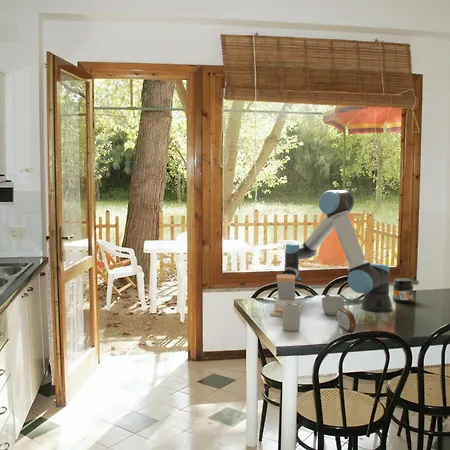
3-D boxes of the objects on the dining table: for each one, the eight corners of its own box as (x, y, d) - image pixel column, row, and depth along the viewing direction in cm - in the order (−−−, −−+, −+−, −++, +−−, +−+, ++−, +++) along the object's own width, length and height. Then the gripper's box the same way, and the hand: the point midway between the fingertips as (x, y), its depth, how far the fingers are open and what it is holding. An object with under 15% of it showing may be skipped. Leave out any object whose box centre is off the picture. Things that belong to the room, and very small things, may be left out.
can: (281, 327, 246) (281, 301, 245) (297, 327, 247) (298, 301, 246) (284, 332, 239) (284, 305, 238) (301, 332, 240) (301, 304, 239)
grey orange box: (278, 295, 276) (277, 274, 267) (295, 296, 274) (294, 274, 265) (277, 299, 273) (276, 277, 265) (295, 300, 272) (294, 278, 263)
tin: (356, 333, 239) (356, 314, 238) (349, 333, 238) (349, 314, 237) (341, 324, 254) (342, 306, 253) (335, 324, 253) (335, 306, 252)
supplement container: (403, 304, 295) (404, 282, 294) (388, 300, 304) (389, 278, 303) (417, 302, 300) (417, 280, 299) (401, 298, 309) (402, 277, 308)
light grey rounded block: (343, 317, 266) (344, 301, 265) (320, 316, 268) (321, 299, 267) (343, 310, 279) (343, 295, 279) (321, 309, 281) (322, 293, 281)
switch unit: (274, 307, 285) (274, 294, 284) (301, 308, 282) (302, 296, 282) (270, 315, 267) (270, 302, 267) (299, 317, 265) (299, 304, 264)
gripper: (301, 282, 293) (298, 292, 270) (277, 281, 295) (271, 290, 272) (302, 268, 292) (298, 276, 269) (277, 267, 295) (272, 275, 272)
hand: (285, 283), depth 271 cm, fingers closed
